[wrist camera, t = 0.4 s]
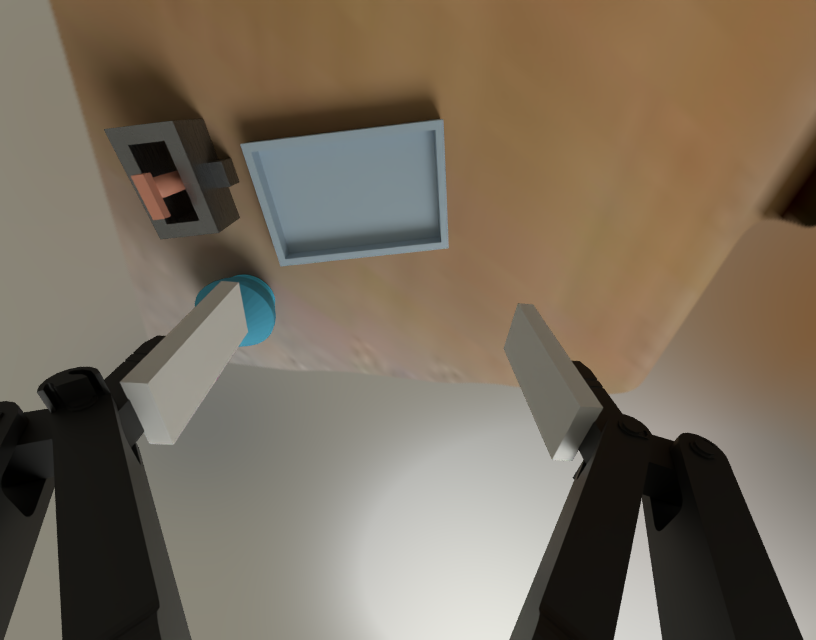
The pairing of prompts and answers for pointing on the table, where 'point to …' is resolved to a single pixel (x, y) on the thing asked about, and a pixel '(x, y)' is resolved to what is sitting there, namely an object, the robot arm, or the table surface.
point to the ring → (195, 166)
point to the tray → (353, 191)
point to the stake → (157, 191)
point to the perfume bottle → (251, 306)
